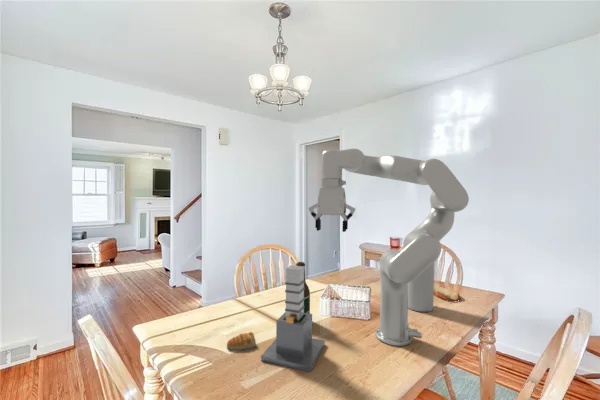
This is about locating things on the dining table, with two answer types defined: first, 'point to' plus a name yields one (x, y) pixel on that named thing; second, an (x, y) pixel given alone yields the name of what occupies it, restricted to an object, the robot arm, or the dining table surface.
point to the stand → (294, 344)
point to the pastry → (242, 341)
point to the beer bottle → (305, 292)
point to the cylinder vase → (422, 291)
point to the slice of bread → (446, 294)
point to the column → (295, 292)
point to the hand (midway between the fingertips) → (331, 230)
